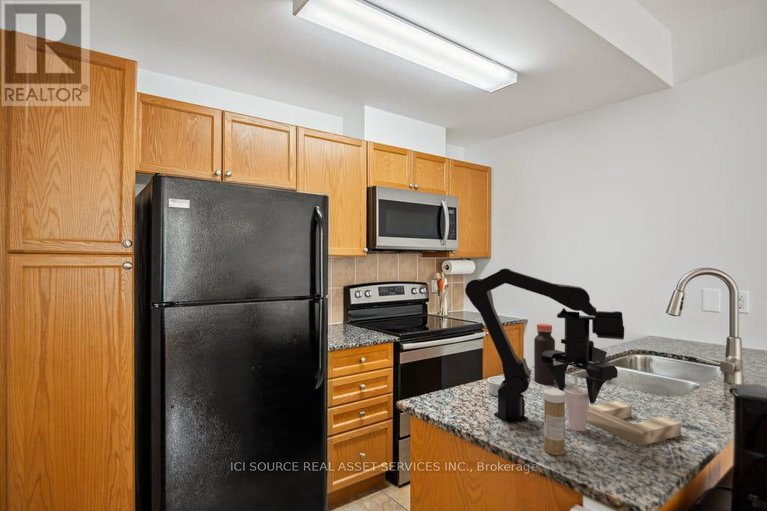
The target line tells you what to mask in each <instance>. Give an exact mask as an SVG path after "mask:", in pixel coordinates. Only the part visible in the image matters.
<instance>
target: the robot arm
mask: <svg viewBox="0 0 767 511" xmlns="http://www.w3.org/2000/svg"><path fill="white" fill-rule="evenodd" d="M504 284H507V285H510V286H514V287H516V288H520V289H522V290H525V291H529V292H532V293H534V294H538V295H542V296H544V297H547V298H550V299H551V300H553V301H555V302H557V303H559V304H560V305H563V306H565V307H566V308H568V309H570V310H572V311H569V310H567V309H566V308H565V307H563V308H562V309H561V310H560V311H559V312H558V313H557V314H556V318H558V319H564V338H561V339H560V343H561V344H563V345H564V351H561V350H558V349H555V350H551V351H544V352H543V354H542V362H545V366H547V367H548V369H549V370H550V372H551V374H552V376H553V378H554V380H555V384H556V386H557V388H558V390H561V391H563V392H564V388H565V387H566V371H567V368H568V367H569V366H570V367H574V368H577V369H581V370H583V371H584V370H585V371H586V375H587V376H585V381H586V389H587V390H588V396H589V404H591V405H593V404H595V403H596V401H597V398H598V396H599V393H600V390H601V388H602V387H603V385H604V384H605V383H606V382H608V381H611V380H612V379H616V378H617V379H618V375H619V374H618V369H617V367H616V366H615V365H614V364H610V363H607V362H606V357H607V353H608V352H607V351H605V350H602V349H601V348H598V347H595V346H594V344H595V343H594V341H593V340H590V321H591V322H592V323H591V332H592V334H595V335H596V336H597V338H598V339H608V340H624V338H625V326H624V318H623V313H622V312H621V311H619V310H618V311H604V310H603V311H602V310H601V311H600V310H597V308H596V306H594V305H593V304H592V303H591V297H590V294H589V293H588V291H587V290H586V289H585V288H583V287H580V286H575V285H568V284H561V283H560V284H559V283H553V282H550V281H546V280H545V279H544V280H543V279H539V278H537V277H533V276H531V275H527V274H523V273H521V272H517V271H514V270H512V269H510V268H508V267H507V268H505V267H504V268H501V269H500V270H498V271H497V272H495V273H493V274H491V275H488V276H487V277H484V278H476V279H472V280H470V281H468V283H466V285H465V288H464V291H465V295H466V296H467V298H468V300H469V301H470V302H471V304H472V305H473V307H474V308H476V310H477V311H478V312H479V313H480V315H481V318H482V320H483V322H484V325H485V327H486V330H487V331H488V334H489V336H490V339H491V340H492V343H493V346H494V347H495V349H496V352H497V354H498V356H499V359H500V360H501V365H502V366H501V367H502V372H503V373H502V374H503V377H505V380H504V381H502V383H501V385H500V387H499V389H498V397H497V412H494V414H493V415H494V416H495V417H497V418H499V419H501V420H502V421H504V422H506V423H508V424H513V423H518V422H523V421H528V420H529V417H527V416H525V413H526V412H525V411H526V408H525V406H526V405H525V404H526V403H525V402H526V401H525V397H524V396H525V395H524V393H526V392H527V391H528V389H529V385H530V383H531V378H532V377H531V374H532V370H531V369H530V367H529V366H528V364H527V363H528V362H527V359H526V358H525V357H524V358H523V359H520V358H519V357H518V355H517V354H516V352H515V351H514V350H515V349H514V347H513V345H512V343H511V342H510V340H509V337H508V335H507V333H506V331H505V328H504V325H503V324H502V322H501V321H502V320H500V316H499V315H498V312H497V311H496V308H495V305H494V299H493V298H494V297H493V294H492V290H495V289H496V288H498V287H500V286H501V287H502V286H503V285H504ZM580 312H582V313H584V314H585V315H580Z"/></svg>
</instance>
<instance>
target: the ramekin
mask: <svg viewBox="0 0 767 511" xmlns="http://www.w3.org/2000/svg"><path fill="white" fill-rule="evenodd" d="M504 380H505V377H504V376H490V377H488V378H487V383H488V392H489V394H491V395H492V396H495V397H497V398H498V389H499V387H500V385H501V383H502V381H504Z"/></svg>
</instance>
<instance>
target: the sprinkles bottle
mask: <svg viewBox="0 0 767 511" xmlns="http://www.w3.org/2000/svg"><path fill="white" fill-rule="evenodd" d="M543 403H544V404H543V407H544V408H543V409H544V411H543V412H544V414H543V419H544V420H543V434H544V435H543V436H544V437H543V438H544V442H543V443H544V446H543V450H544V451H545V452H546V453H548V454H551V455H553V456H554V455H555V456H563V455H565V453H566V448H565V447H566V443H565V440H566V410H565V409H566V405H565V404H566V396H565V392H563V391H561V390H559V388H558V389H557V388H546V389H544V390H543Z"/></svg>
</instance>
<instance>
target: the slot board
mask: <svg viewBox="0 0 767 511" xmlns="http://www.w3.org/2000/svg"><path fill="white" fill-rule="evenodd" d="M628 418H632V405H630V404H627V403H625V402H622V401H620V400H615V401H609V402H605V403H599V404H594V405H593V404H592V405H589V406H588V414H587V421H586V423H588V424H591V425H593V426H595V427H597V428H600V429H602V430H604V431H606V432H609V433H611V434H613V435H615V436H618V437H621V438H623V439H625V440H628V441H629V442H632V443H633V444H636V445H639V446H641V447H643V446H646V445H649V444H650V445H651V444H653V443H657V442H662V441H665V440H668V439H673V438H676V437H679V436H681V435H682V423H681V422H679V421H677V420H673V419H671V418H667V417H665V416H661V417H657V418H652V419H647V420H644V421H640V422H637V423H636V422H635V423H632V422H630V421H627V420H625V419H628Z"/></svg>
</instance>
